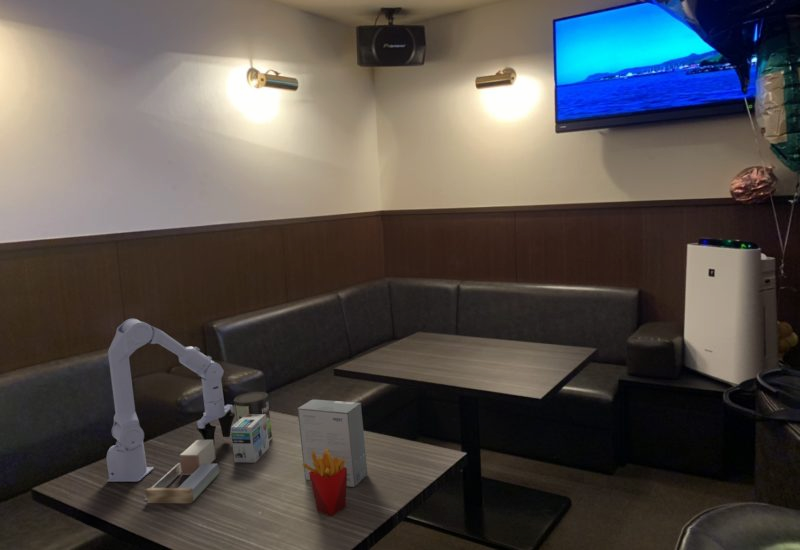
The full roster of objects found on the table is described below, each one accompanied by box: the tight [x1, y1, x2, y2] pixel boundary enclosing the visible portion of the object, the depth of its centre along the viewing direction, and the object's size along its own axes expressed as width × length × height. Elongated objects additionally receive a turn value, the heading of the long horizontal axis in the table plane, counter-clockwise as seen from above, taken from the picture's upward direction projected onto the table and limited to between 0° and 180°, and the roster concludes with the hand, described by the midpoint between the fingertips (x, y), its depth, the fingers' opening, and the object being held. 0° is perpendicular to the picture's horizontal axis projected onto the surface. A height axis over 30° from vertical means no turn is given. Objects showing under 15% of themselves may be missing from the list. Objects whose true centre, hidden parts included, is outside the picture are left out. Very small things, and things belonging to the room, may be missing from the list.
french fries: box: [301, 449, 348, 517], centre depth 140 cm, size 9×8×15 cm
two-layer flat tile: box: [177, 463, 220, 501], centre depth 158 cm, size 5×15×3 cm, turn 172°
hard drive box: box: [297, 399, 368, 488], centre depth 157 cm, size 16×8×20 cm, turn 65°
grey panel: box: [144, 462, 182, 502], centre depth 160 cm, size 2×15×3 cm, turn 172°
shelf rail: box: [145, 487, 195, 504], centre depth 151 cm, size 12×1×4 cm, turn 82°
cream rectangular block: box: [179, 439, 216, 476], centre depth 170 cm, size 5×10×6 cm, turn 172°
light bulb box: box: [230, 414, 270, 464], centre depth 175 cm, size 11×7×11 cm, turn 169°
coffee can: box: [233, 391, 273, 442], centre depth 186 cm, size 10×10×14 cm
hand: (218, 441), depth 183 cm, fingers open, 7 cm apart
